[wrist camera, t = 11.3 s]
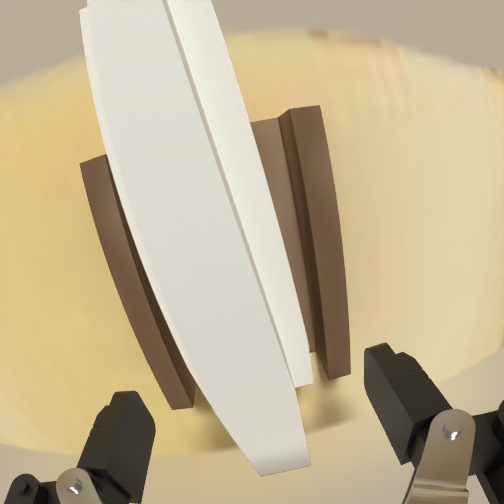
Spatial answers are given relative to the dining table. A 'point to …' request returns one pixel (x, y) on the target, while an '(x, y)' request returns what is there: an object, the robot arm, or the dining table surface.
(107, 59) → the shelf bracket
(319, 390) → the dining table surface
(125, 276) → the walnut channel
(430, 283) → the dining table surface
